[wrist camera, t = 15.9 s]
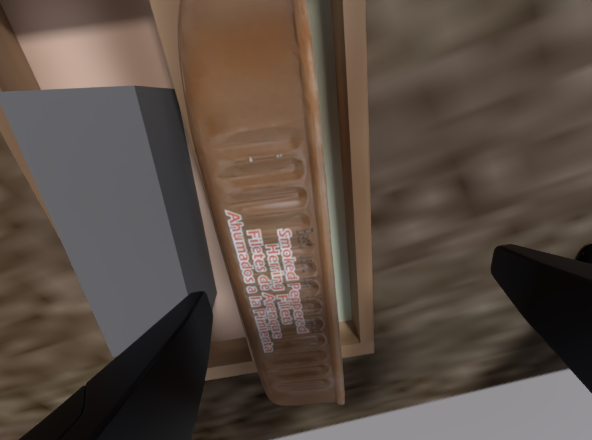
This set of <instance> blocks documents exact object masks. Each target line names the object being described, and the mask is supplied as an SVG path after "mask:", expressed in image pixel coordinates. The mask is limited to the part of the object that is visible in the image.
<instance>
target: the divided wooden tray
mask: <svg viewBox="0 0 592 440" xmlns="http://www.w3.org/2000/svg"><path fill="white" fill-rule="evenodd" d="M306 1H307V7H308V16H309V20H310V28H311V33H312V46H313V54H314V62H315V69H316V78H317V87H318V95H319V103H320V113H321V125H322V136H323V148H324V159H325V172H326V183H327V197H328V208H329V218H330V229H331V242H332V253H333V264H334V275H335V288H336V297H337V298H336V300H337V309H338V318H339V329H340V343H341V353H342V358H347V357H353V356H359V355H365V354H371V353H374V326H373V286H372V246H371V206H370V166H369V126H368V86H367V46H366V6H365V0H306ZM179 3H180V0H0V92H5V91H27V90H48V89H69V88H91V87H112V86H133V85H135V86H146V87H158V88H170V89H175V92H176V95H177V99H178V102H179V106H180V111H181V116H182V121H183V126H184V131H185V136H186V141H187V146H188V151H189V156H190V161H191V166H192V171H193V176H194V181H195V186H196V191H197V196H198V200H199V205H200V210H201V215H202V220H203V225H204V230H205V235H206V240H207V245H208V250H209V255H210V260H211V265H212V270H213V275H214V280H215V285H216V290H217V295H216V299H215V302H214V306H213V309H212V311H213V325H212V334H211V343H210V352H209V361H208V368H207V373H206V378H205V381H207V380H213V379H219V378H225V377H231V376H237V375H243V374H249V373H255V372H258V370H257V367H256V364H255V361H254V357H253V353H252V350H251V348H250V344H249V340H248V337H247V334H246V330H245V327H244V323H243V320H242V316H241V313H240V310H239V306H238V303H237V299H236V295H235V292H234V288H233V285H232V282H231V279H230V275H229V271H228V267H227V264H226V261H225V257H224V253H223V249H222V246H221V243H220V240H219V236H218V232H217V229H216V225H215V221H214V218H213V214H212V211H211V207H210V203H209V199H208V195H207V192H206V189H205V185H204V181H203V178H202V174H201V170H200V166H199V163H198V159H197V155H196V152H195V148H194V144H193V139H192V135H191V131H190V126H189V120H188V115H187V109H186V104H185V98H184V92H183V85H182V78H181V70H180V63H179V52H178V13H179ZM0 132H1V134H2V136H3V137H4V139H5V141H6V143H7V145H8V146H9V148H10V150H11V152H12V154H13V155H14V157H15V159H16V161H17V163H18V164H19V166H20V168H21V170H22V172H23V173H24V175H25V177H26V179H27V181H28V182H29V184H30V186H31V188H32V190H33V191H34V193H35V195H36V197H37V199H38V200H39V202H40V204H41V206H42V208H43V209H44V211H45V213H46V215H47V217H48V218H49V220H50V222H51V224H52V226H53V227H54V229H55V231H56V233H57V230H56V228H55V226H54V224H53V221H52V219H51V217H50V215H49V212H48V210H47V208H46V206H45V203H44V201H43V199H42V197H41V194H40V192H39V190H38V188H37V185H36V183H35V181H34V179H33V176H32V174H31V172H30V170H29V168H28V165H27V163H26V161H25V159H24V156H23V154H22V152H21V150H20V147H19V145H18V143H17V141H16V138H15V136H14V134H13V132H12V129H11V127H10V125H9V123H8V120H7V118H6V116H5V114H4V111H3V109H2V107H1V105H0ZM57 235H58V233H57ZM58 236H59V235H58ZM59 238H60V237H59ZM60 240H61V239H60Z"/></svg>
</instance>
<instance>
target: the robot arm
mask: <svg viewBox="0 0 592 440" xmlns="http://www.w3.org/2000/svg"><path fill="white" fill-rule="evenodd" d="M491 273H492V275H493V277H494V278H495V280H496V281H497V283H498V284H499V285H500V287H501V288H502V289H503V291H504V292H505V293H506V295H507V296H508V297H509V299H510V300H511V301H512V303H513V304H514V305H515V307H516V308H517V309H518V311H519V312H520V313H521V314H522V316H523V317H524V318H525V319H526V321H527V322H528V323H529V324H530V325H531V326H532V327H533V329H534V330H535V331H536V332H537V333H538V334H539V335H540V336H541V337H542V339H543V340H544V341H545V342H546V343H547V344H548V345H549V346H550V347H551V349H552V350H553V351H554V352H555V353H556V354H557V355H558V356H559V357H560V359H561V360H562V361H563V362H564V363H565V364H566V365H567V366H568V367H569V369H570V370H571V371H572V372H573V373H574V374H575V375H576V376H577V377H578V379H579V380H580V381H581V382H582V383H583V384H584V385H585V386H586V387H587V389H588V390H589V391H590V392H591V393H592V244H591V245H589V246H588V247H587V248H586V250H585V252H584V255H583V257H582V260H581V261H577V260H573V259H569V258H565V257H561V256H557V255H553V254H549V253H545V252H541V251H537V250H533V249H529V248H525V247H521V246H517V245H513V244H507V245H500V246H497V247H496V248H495V249H494V253H493V258H492V264H491ZM212 325H213V311H212V308H211V305H210V302H209V299H208V296H207V294H206V292H205V291H198V292H192V293H190V294H189V295H188V296H187V297H185V298H184V299H183V300H182V301H181V302H180V303H178V304H177V305H176V306H175V307H174V308H173V309H171V310H170V311H169V312H168V313H167V314H166V315H165V316H163V317H162V318H161V319H160V320H159V321H158V322H156V323H155V324H154V325H153V326H152V327H151V328H150V329H148V330H147V331H146V332H145V333H144V334H143V335H141V336H140V337H139V338H138V339H137V340H136V341H134V342H133V343H132V344H131V345H130V346H129V347H128V348H126V349H125V350H124V351H123V352H122V353H121V354H119V355H118V356H117V357H116V358H115V359H114V360H113V361H111V362H110V363H109V364H108V365H107V366H106V367H104V368H103V369H102V370H101V371H100V372H99V373H97V374H96V375H95V376H94V377H93V378H92V379H91V380H89V381H88V382H87V383H86V386H82V387H81V388H80V389H79V390H78V391H77V392H75V393H74V394H73V395H72V396H71V397H70V398H68V399H67V400H66V401H65V402H64V403H63V404H61V405H60V406H59V407H58V408H57V409H55V410H54V411H53V412H52V413H51V414H50V415H48V416H47V417H46V418H45V419H44V420H42V421H41V422H40V423H39V424H37V425H36V426H35V427H34V428H32V429H31V430H30V431H29V432H27V433H26V434H25V435H24V436H22V437H21V438H20V439H19V440H192V435H193V431H194V426H195V422H196V417H197V413H198V409H199V404H200V400H201V395H202V391H203V386H204V382H205V378H206V373H207V368H208V361H209V352H210V343H211V334H212Z"/></svg>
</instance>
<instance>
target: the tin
mask: <svg viewBox="0 0 592 440" xmlns="http://www.w3.org/2000/svg"><path fill="white" fill-rule="evenodd" d="M178 52H179V63H180V70H181V78H182V85H183V92H184V98H185V104H186V109H187V115H188V120H189V126H190V131H191V135H192V139H193V144H194V148H195V152H196V155H197V159H198V163H199V166H200V170H201V174H202V178H203V181H204V185H205V189H206V192H207V195H208V199H209V203H210V207H211V211H212V214H213V218H214V221H215V225H216V229H217V232H218V236H219V240H220V243H221V246H222V249H223V253H224V257H225V261H226V264H227V267H228V271H229V275H230V279H231V282H232V285H233V288H234V292H235V295H236V299H237V303H238V306H239V310H240V313H241V316H242V320H243V323H244V327H245V330H246V334H247V337H248V340H249V344H250V348H251V350H252V353H253V357H254V361H255V364H256V367H257V370H258V374H259V377H260V380H261V383H262V386H263V388H264V391H265V393H266V395H267V396H268V398H269V399H270V400H271V401H272V402H273V403H275V404H277V405H281V406H295V405H307V404H317V403H330V402H336V403H337V404H339V405H344V404H345V390H344V374H343V365H342V353H341V343H340V329H339V318H338V309H337V300H336V298H337V297H336V288H335V275H334V264H333V253H332V242H331V229H330V218H329V208H328V197H327V183H326V172H325V159H324V148H323V136H322V125H321V113H320V103H319V95H318V87H317V78H316V69H315V62H314V54H313V46H312V33H311V28H310V20H309V16H308V7H307V1H306V0H180V3H179V13H178Z"/></svg>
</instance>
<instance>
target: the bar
mask: <svg viewBox="0 0 592 440" xmlns="http://www.w3.org/2000/svg"><path fill="white" fill-rule="evenodd" d="M0 105H1V107H2V109H3V111H4V114H5V116H6V118H7V120H8V123H9V125H10V127H11V129H12V132H13V134H14V136H15V138H16V141H17V143H18V145H19V147H20V150H21V152H22V154H23V156H24V159H25V161H26V163H27V165H28V168H29V170H30V172H31V174H32V176H33V179H34V181H35V183H36V185H37V188H38V190H39V192H40V194H41V197H42V199H43V201H44V203H45V206H46V208H47V210H48V212H49V215H50V217H51V219H52V221H53V224H54V226H55V228H56V230H57V233H58V235H59V237H60V239H61V242H62V244H63V246H64V248H65V251H66V253H67V255H68V257H69V260H70V262H71V264H72V266H73V269H74V271H75V273H76V275H77V278H78V280H79V282H80V284H81V287H82V289H83V291H84V293H85V296H86V298H87V300H88V302H89V304H90V307H91V309H92V311H93V313H94V316H95V318H96V320H97V322H98V325H99V327H100V329H101V331H102V334H103V336H104V338H105V340H106V343H107V345H108V347H109V349H110V352H111V354H112V356H113V357H116V356H118V355H119V354H121V353H122V352H123V351H124V350H125V349H126V348H128V347H129V346H130V345H131V344H132V343H133V342H134V341H136V340H137V339H138V338H139V337H140V336H141V335H143V334H144V333H145V332H146V331H147V330H148V329H150V328H151V327H152V326H153V325H154V324H155V323H156V322H158V321H159V320H160V319H161V318H162V317H163V316H165V315H166V314H167V313H168V312H169V311H170V310H171V309H173V308H174V307H175V306H176V305H177V304H178V303H180V302H181V301H182V300H183V299H184V298H185V297H187V296H188V295H189V294H190V293H192V292H198V291H205V292H206V294H207V296H208V299H209V302H210V305H211V308H212V309H213V306H214V302H215V299H216V295H217V290H216V285H215V280H214V275H213V270H212V265H211V260H210V255H209V250H208V245H207V240H206V235H205V230H204V225H203V220H202V215H201V210H200V205H199V200H198V196H197V191H196V186H195V181H194V176H193V171H192V166H191V161H190V156H189V151H188V146H187V141H186V136H185V131H184V126H183V121H182V116H181V111H180V106H179V102H178V99H177V95H176V92H175V89H170V88H158V87H146V86H135V85H133V86H112V87H91V88H69V89H48V90H27V91H5V92H0Z"/></svg>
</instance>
